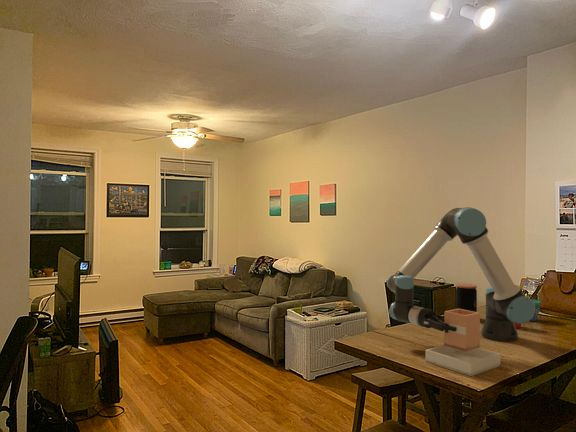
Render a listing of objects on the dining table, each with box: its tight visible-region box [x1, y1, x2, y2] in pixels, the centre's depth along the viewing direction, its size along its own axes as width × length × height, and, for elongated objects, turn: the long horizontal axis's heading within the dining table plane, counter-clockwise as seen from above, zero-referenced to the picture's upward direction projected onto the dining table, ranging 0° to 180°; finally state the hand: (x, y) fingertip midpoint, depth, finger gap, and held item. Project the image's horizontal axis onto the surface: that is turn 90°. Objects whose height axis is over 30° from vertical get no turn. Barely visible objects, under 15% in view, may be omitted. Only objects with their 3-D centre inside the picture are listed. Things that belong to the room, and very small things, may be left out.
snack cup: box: [529, 299, 542, 322], centre depth 238 cm, size 16×10×10 cm
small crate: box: [443, 308, 481, 352], centre depth 168 cm, size 9×9×13 cm
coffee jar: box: [455, 283, 478, 312], centre depth 241 cm, size 11×11×18 cm
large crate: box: [425, 344, 501, 377], centre depth 168 cm, size 19×19×4 cm
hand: (473, 329), depth 164 cm, fingers closed on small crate, 9 cm apart
